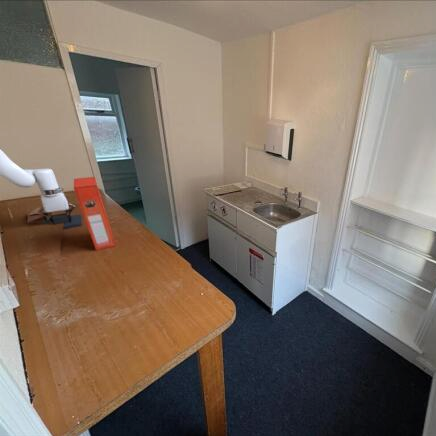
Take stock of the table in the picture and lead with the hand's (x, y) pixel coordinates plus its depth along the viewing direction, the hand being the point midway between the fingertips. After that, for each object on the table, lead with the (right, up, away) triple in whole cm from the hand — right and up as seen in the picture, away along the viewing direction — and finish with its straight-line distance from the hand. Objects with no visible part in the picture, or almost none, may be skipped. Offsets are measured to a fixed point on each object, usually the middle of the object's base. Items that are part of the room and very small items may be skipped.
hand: (61, 220), depth 135 cm
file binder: (+36, -11, -14) cm, 40 cm away
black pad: (0, -1, 0) cm, 1 cm away
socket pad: (0, -2, +1) cm, 2 cm away
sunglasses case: (-22, +2, +7) cm, 23 cm away
